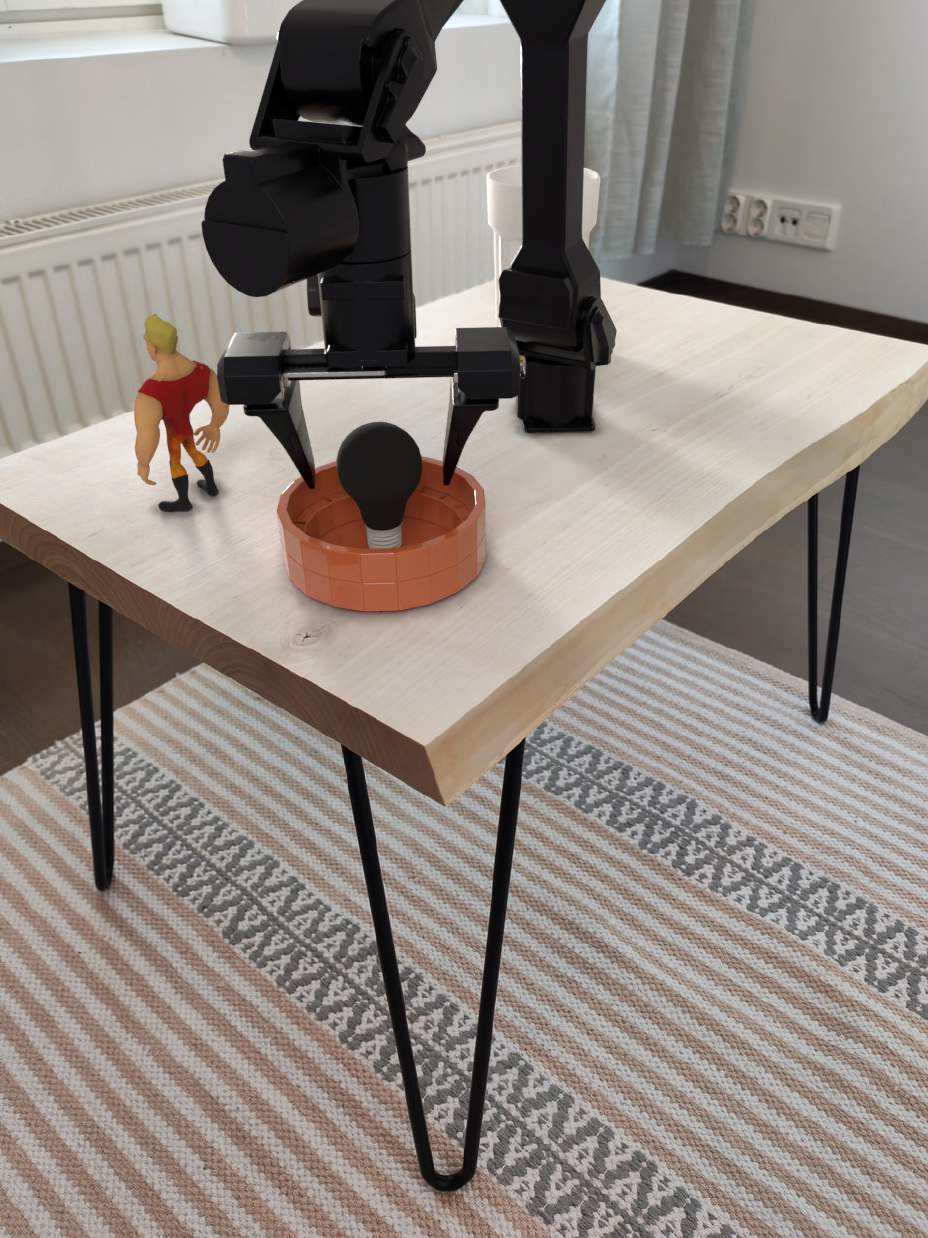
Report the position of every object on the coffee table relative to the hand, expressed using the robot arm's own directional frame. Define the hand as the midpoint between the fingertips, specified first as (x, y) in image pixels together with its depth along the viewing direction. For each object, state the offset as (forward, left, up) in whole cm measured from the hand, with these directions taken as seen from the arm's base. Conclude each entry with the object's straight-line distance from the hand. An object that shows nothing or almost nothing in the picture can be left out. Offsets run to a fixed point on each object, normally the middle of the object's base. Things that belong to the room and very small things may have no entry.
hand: (379, 484), depth 67 cm
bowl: (0, 0, -6) cm, 6 cm away
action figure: (+16, -10, -6) cm, 20 cm away
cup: (-15, -43, -6) cm, 46 cm away
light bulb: (0, 0, -6) cm, 6 cm away
